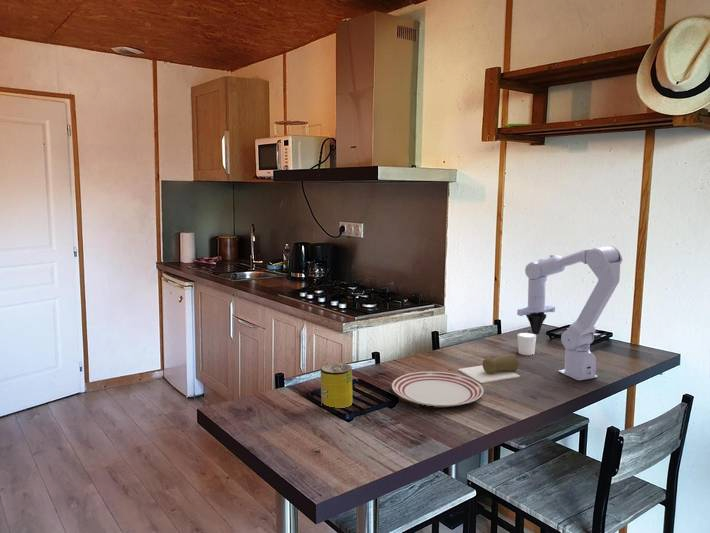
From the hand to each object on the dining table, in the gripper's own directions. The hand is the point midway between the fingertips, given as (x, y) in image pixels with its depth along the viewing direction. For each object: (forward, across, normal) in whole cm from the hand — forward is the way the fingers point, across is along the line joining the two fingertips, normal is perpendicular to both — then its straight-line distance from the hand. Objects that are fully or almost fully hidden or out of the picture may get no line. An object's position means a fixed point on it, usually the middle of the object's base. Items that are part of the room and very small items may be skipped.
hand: (535, 333), depth 194 cm
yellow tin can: (+11, +78, +11) cm, 79 cm away
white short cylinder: (+11, -4, -10) cm, 15 cm away
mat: (+10, +22, +4) cm, 25 cm away
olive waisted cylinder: (+7, +13, +5) cm, 16 cm away
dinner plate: (+11, +47, +14) cm, 50 cm away
